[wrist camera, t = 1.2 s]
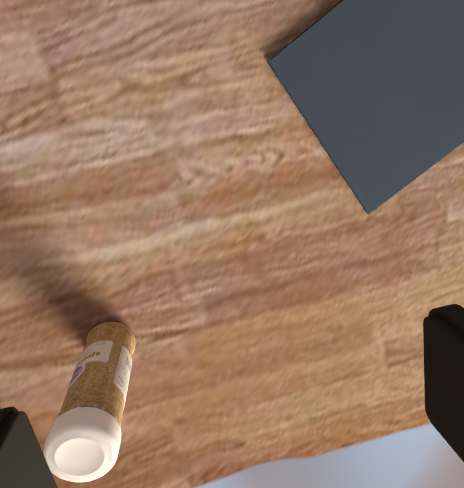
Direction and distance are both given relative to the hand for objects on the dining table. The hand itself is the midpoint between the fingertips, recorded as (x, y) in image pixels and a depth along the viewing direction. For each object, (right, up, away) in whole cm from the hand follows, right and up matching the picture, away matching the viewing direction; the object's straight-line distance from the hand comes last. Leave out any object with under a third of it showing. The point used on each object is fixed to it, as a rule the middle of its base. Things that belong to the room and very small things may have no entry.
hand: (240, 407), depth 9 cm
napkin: (+15, +19, +24) cm, 34 cm away
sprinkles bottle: (-11, -5, +28) cm, 31 cm away
